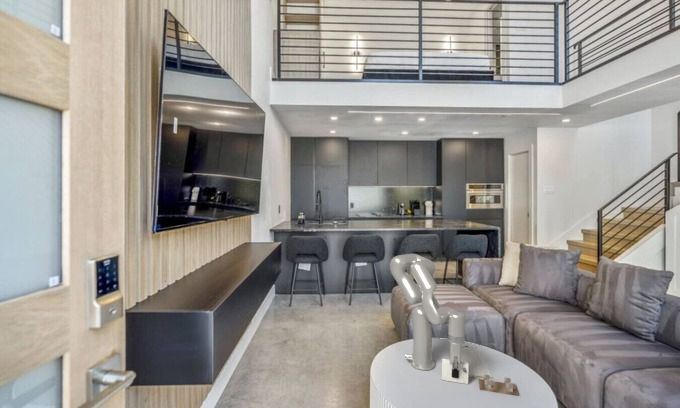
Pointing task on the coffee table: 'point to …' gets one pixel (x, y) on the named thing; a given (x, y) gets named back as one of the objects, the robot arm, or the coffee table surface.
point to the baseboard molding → (474, 363)
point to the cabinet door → (448, 372)
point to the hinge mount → (498, 386)
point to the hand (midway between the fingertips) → (455, 375)
